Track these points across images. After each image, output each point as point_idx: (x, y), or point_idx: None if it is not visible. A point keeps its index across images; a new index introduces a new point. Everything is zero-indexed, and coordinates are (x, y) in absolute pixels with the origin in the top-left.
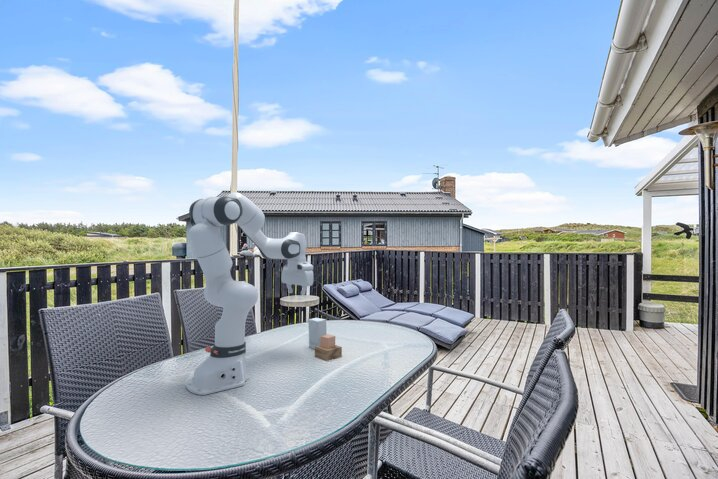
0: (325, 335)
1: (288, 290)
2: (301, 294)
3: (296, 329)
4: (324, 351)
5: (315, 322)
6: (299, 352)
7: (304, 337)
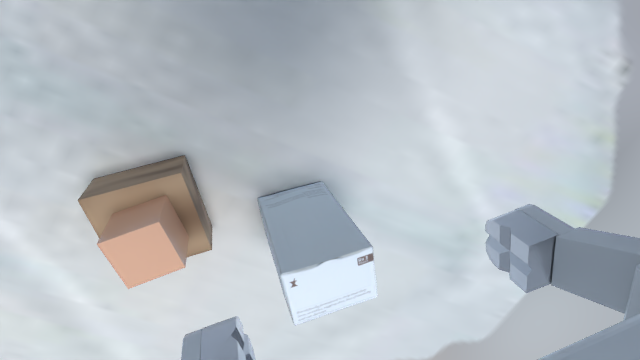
0: (163, 249)
1: (549, 221)
2: (215, 324)
3: None
4: (104, 190)
5: (301, 263)
6: (278, 119)
7: (451, 211)
